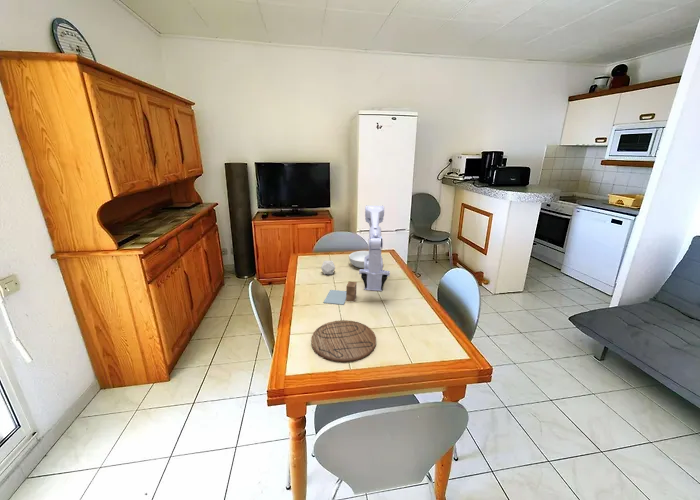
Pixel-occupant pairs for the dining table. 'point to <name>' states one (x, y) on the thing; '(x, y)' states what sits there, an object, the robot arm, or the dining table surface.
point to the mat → (336, 297)
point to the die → (328, 267)
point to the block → (351, 291)
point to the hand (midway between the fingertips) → (373, 288)
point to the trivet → (343, 341)
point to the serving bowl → (358, 258)
